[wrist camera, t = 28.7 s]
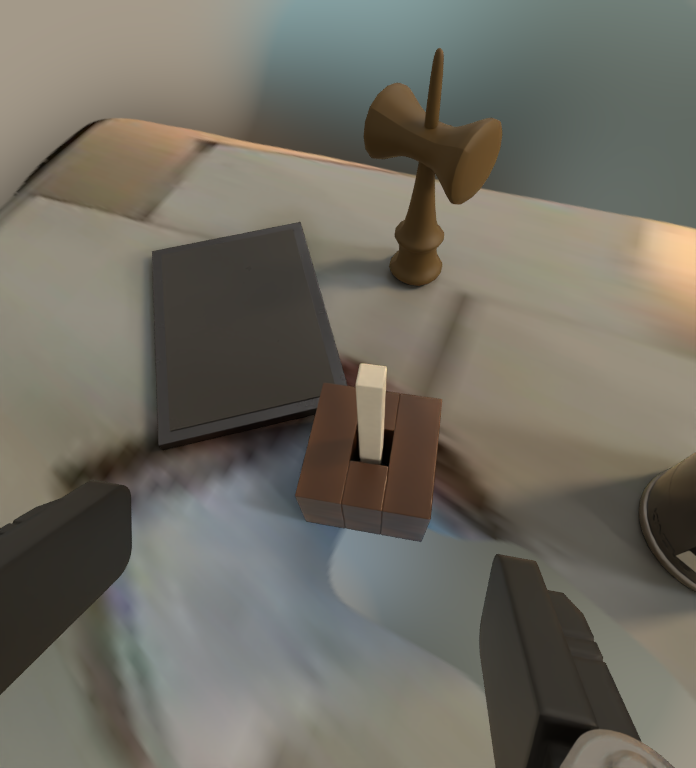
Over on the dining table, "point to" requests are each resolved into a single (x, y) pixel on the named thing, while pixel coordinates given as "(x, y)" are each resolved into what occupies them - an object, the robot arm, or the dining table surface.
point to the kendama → (428, 166)
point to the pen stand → (371, 466)
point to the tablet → (239, 335)
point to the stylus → (371, 411)
